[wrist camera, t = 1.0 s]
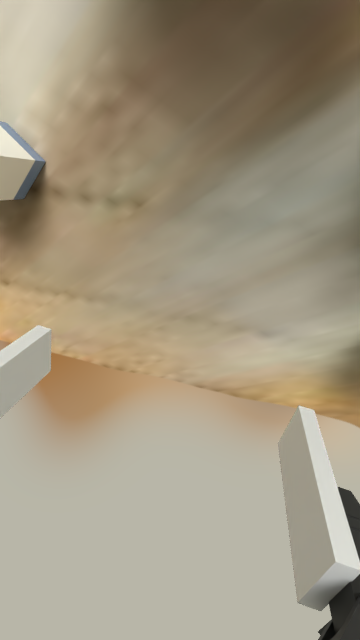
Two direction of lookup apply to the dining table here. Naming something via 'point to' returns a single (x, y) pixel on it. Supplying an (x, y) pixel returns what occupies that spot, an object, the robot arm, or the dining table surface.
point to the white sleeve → (16, 164)
